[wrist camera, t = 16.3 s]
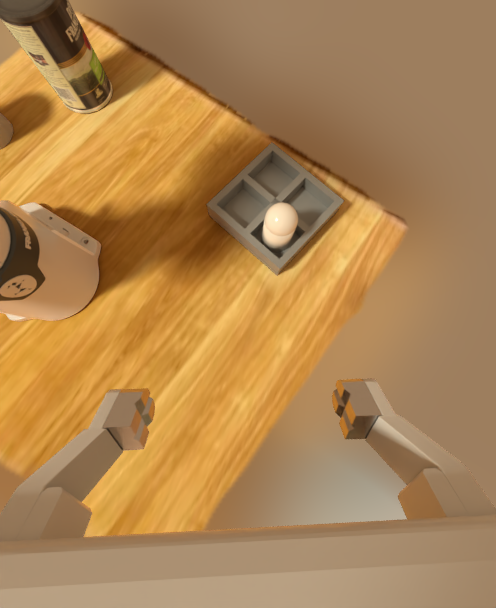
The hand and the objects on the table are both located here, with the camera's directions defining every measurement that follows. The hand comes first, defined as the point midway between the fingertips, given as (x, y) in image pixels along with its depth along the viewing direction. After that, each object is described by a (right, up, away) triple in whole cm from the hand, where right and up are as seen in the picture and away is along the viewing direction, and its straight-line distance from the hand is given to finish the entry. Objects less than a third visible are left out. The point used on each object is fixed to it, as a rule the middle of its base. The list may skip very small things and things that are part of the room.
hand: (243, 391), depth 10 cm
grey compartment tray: (+5, +21, +33) cm, 39 cm away
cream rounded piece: (+5, +15, +31) cm, 35 cm away
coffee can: (-32, +46, +37) cm, 68 cm away
